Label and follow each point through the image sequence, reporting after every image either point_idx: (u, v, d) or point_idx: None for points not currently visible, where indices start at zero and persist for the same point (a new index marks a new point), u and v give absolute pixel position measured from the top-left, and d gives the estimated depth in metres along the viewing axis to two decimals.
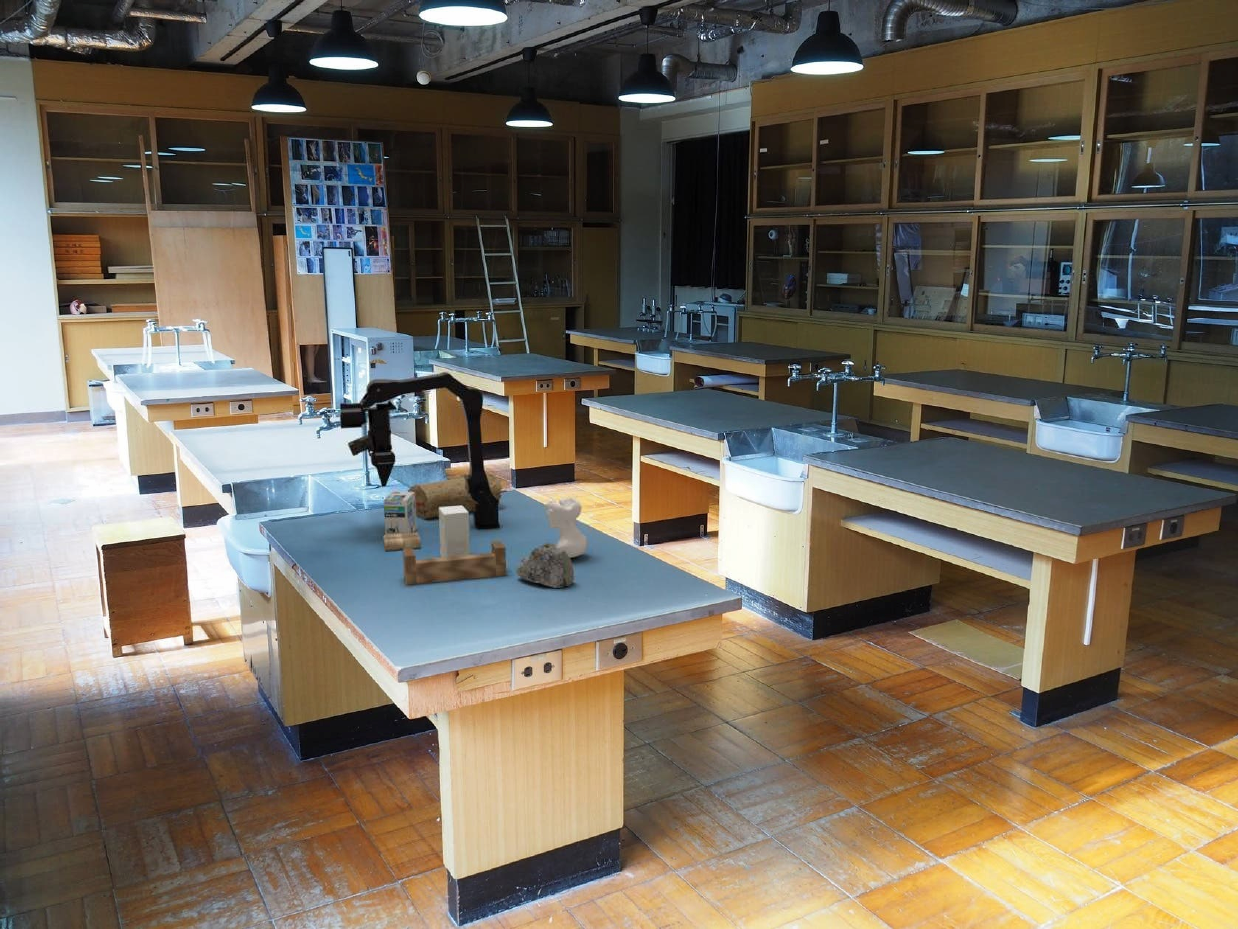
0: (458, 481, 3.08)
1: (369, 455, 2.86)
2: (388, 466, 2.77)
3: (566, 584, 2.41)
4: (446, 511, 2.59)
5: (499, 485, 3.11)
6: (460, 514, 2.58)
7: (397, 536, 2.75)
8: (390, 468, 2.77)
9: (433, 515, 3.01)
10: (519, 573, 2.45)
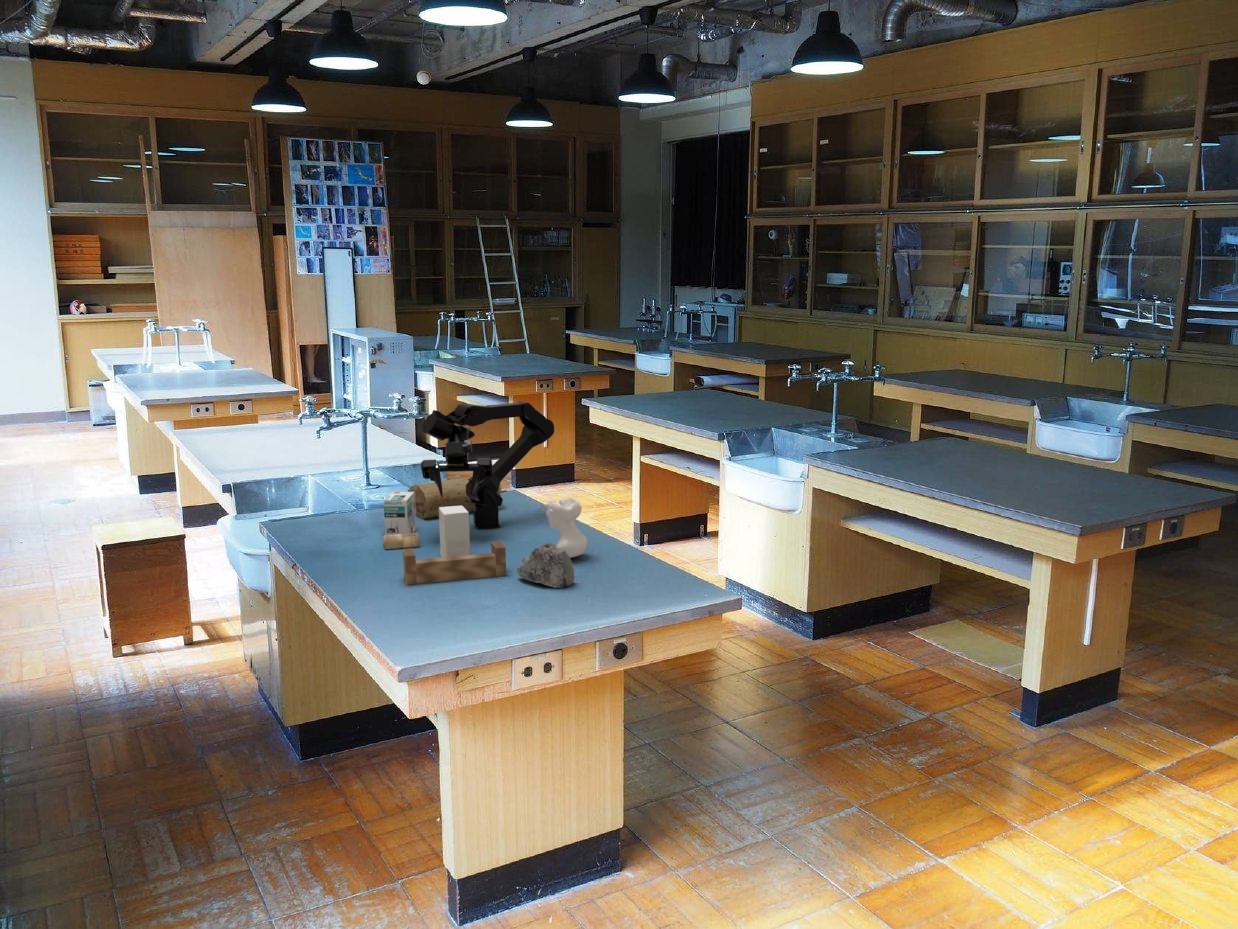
0: (457, 481, 3.08)
1: (439, 468, 2.74)
2: (478, 478, 2.78)
3: (566, 584, 2.41)
4: (446, 511, 2.59)
5: None
6: (460, 514, 2.58)
7: (397, 536, 2.75)
8: (479, 481, 2.78)
9: (431, 515, 3.02)
10: (519, 573, 2.45)
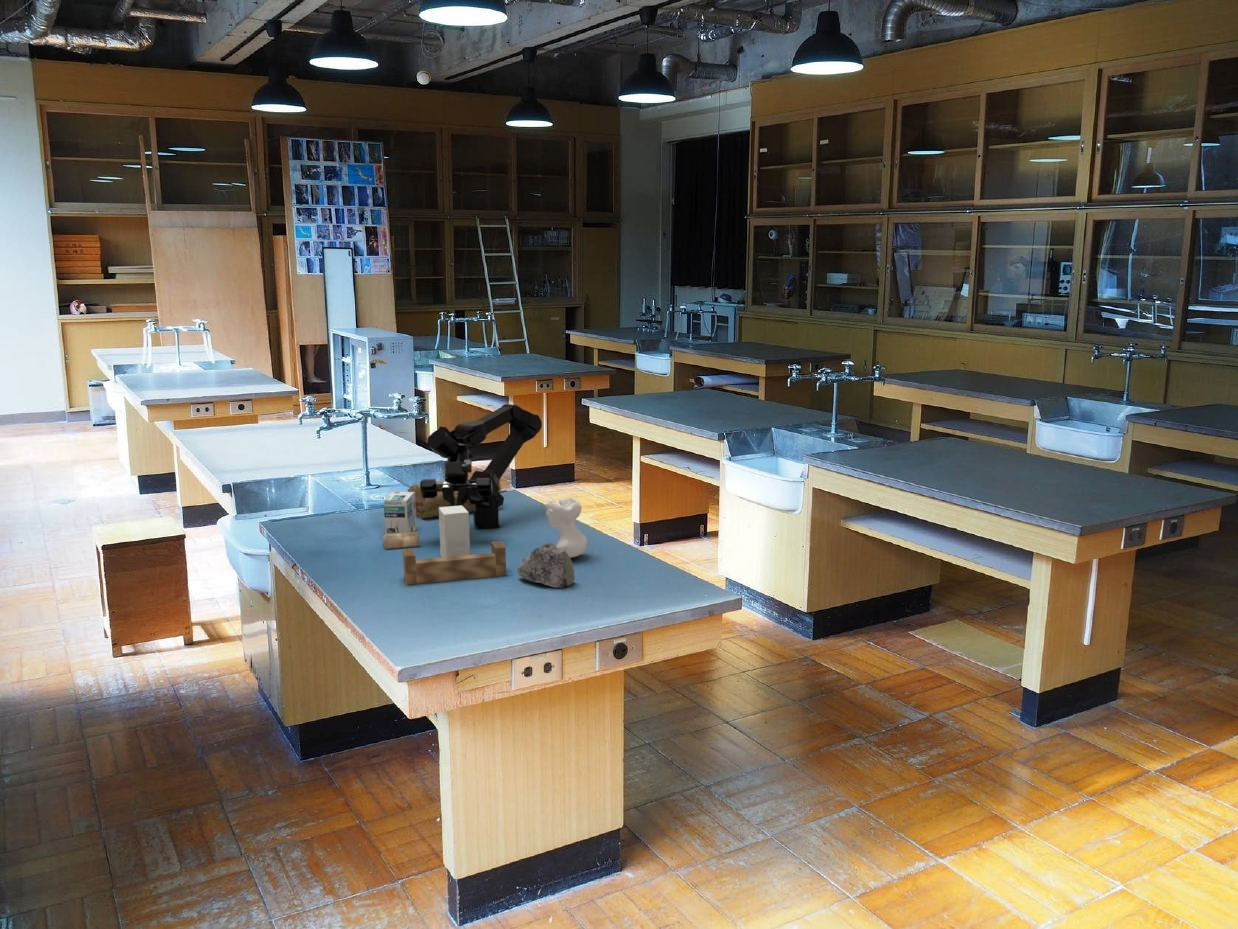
0: None
1: (452, 487, 2.72)
2: (464, 499, 2.75)
3: (566, 584, 2.41)
4: (446, 511, 2.59)
5: None
6: (460, 514, 2.58)
7: (397, 534, 2.76)
8: (464, 502, 2.76)
9: (431, 515, 3.02)
10: (520, 573, 2.45)
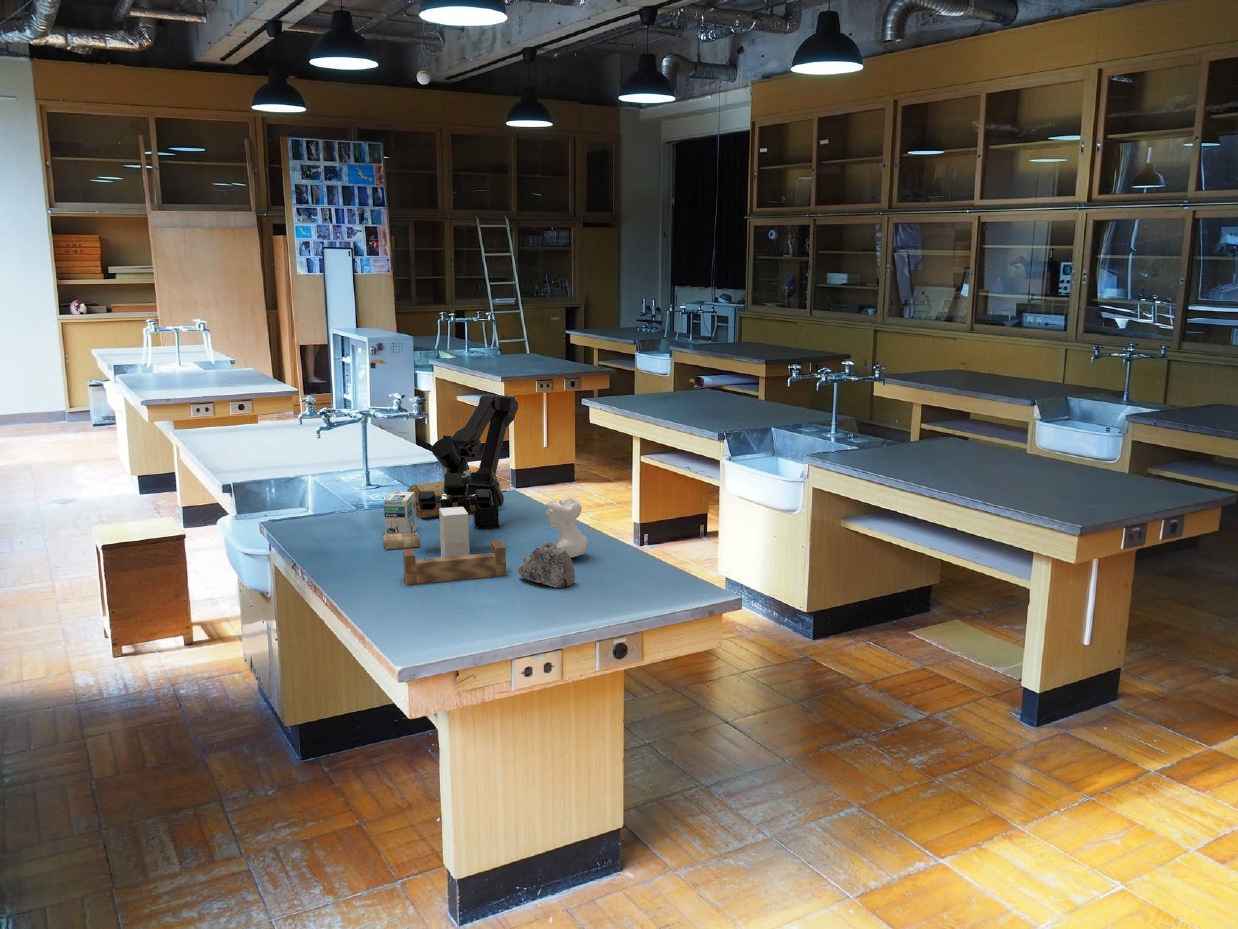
0: None
1: (451, 499, 2.66)
2: None
3: (567, 584, 2.41)
4: (446, 512, 2.58)
5: None
6: (459, 516, 2.56)
7: (397, 536, 2.75)
8: None
9: (429, 515, 3.02)
10: (520, 572, 2.46)
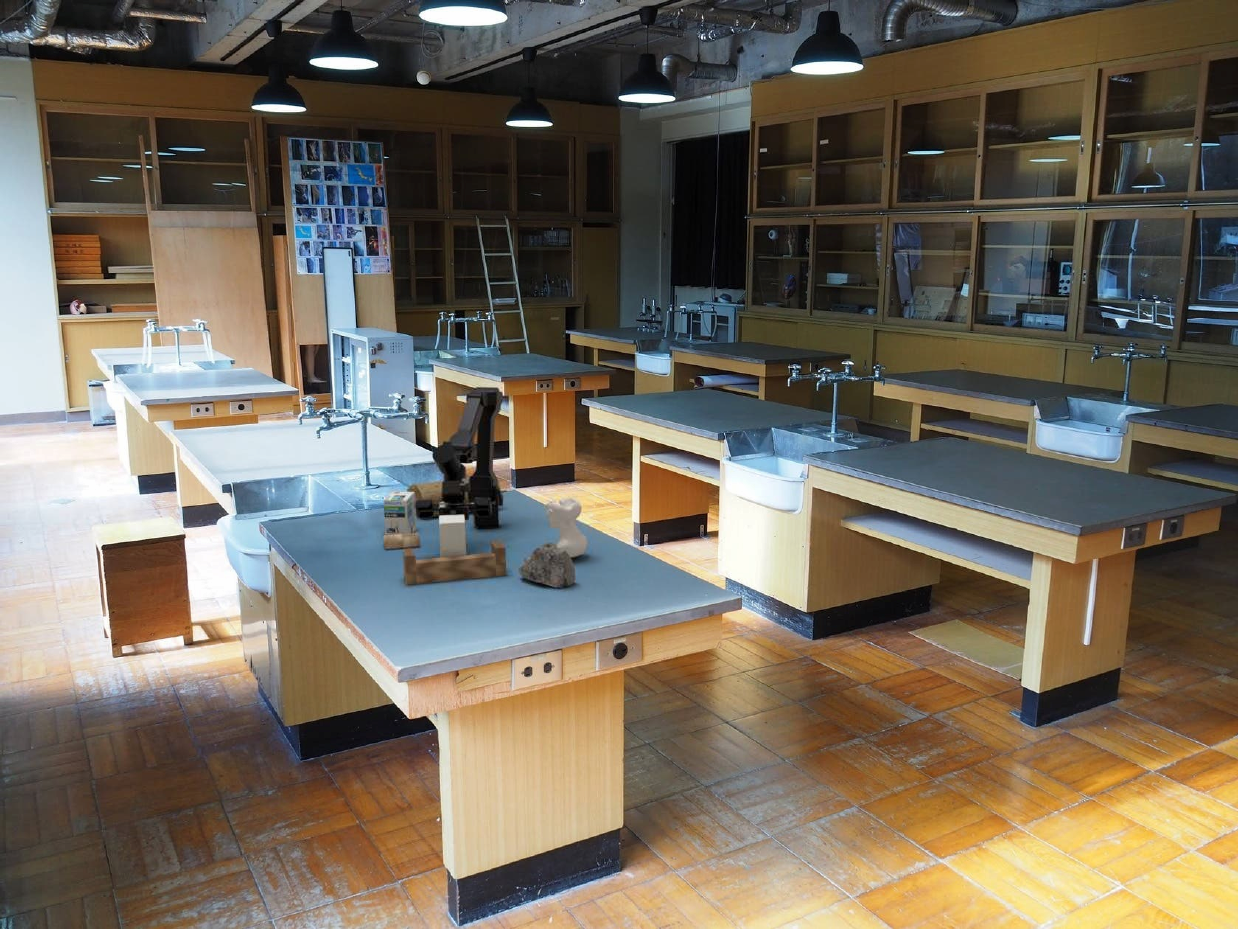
0: None
1: (449, 508, 2.59)
2: None
3: (567, 584, 2.41)
4: (443, 520, 2.51)
5: None
6: (456, 524, 2.49)
7: None
8: None
9: None
10: (521, 572, 2.46)
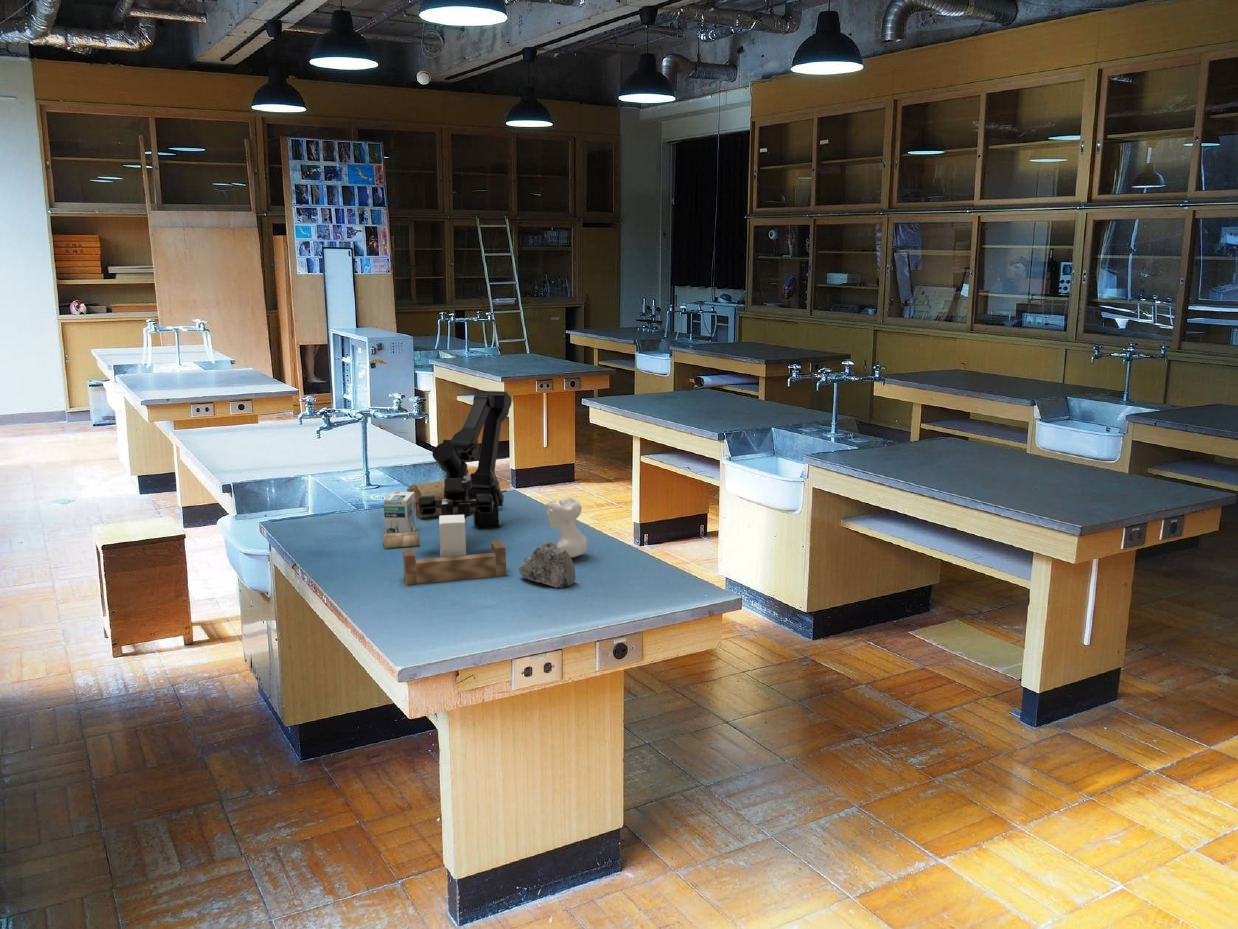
0: None
1: (452, 504, 2.64)
2: None
3: (567, 584, 2.41)
4: (443, 520, 2.51)
5: (498, 486, 3.09)
6: (456, 524, 2.49)
7: (396, 533, 2.77)
8: None
9: (428, 515, 3.02)
10: (521, 572, 2.46)
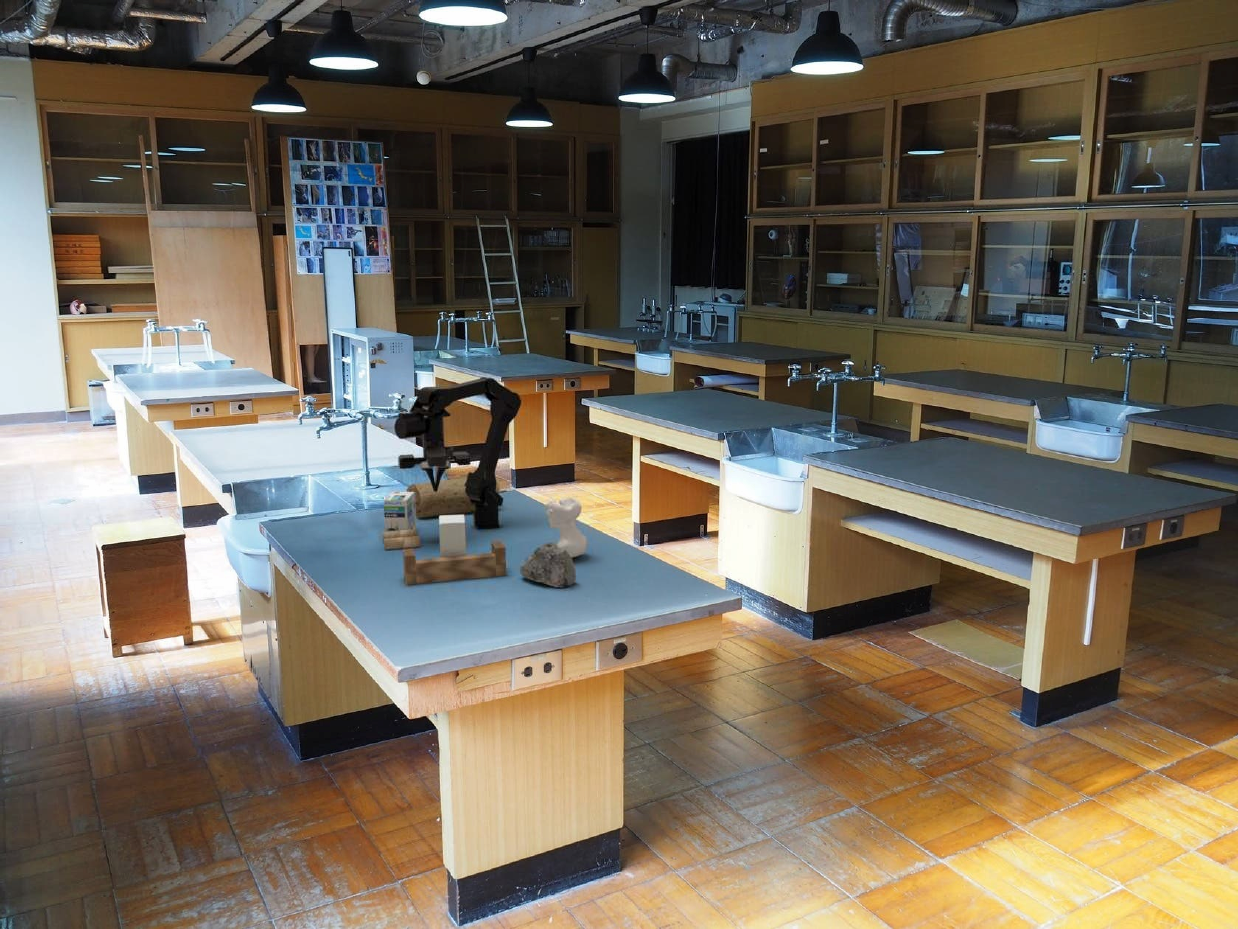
0: (455, 481, 3.07)
1: (432, 469, 2.76)
2: None
3: (567, 584, 2.41)
4: (443, 520, 2.51)
5: (497, 487, 3.09)
6: (456, 524, 2.49)
7: None
8: None
9: (427, 515, 3.02)
10: (522, 572, 2.46)
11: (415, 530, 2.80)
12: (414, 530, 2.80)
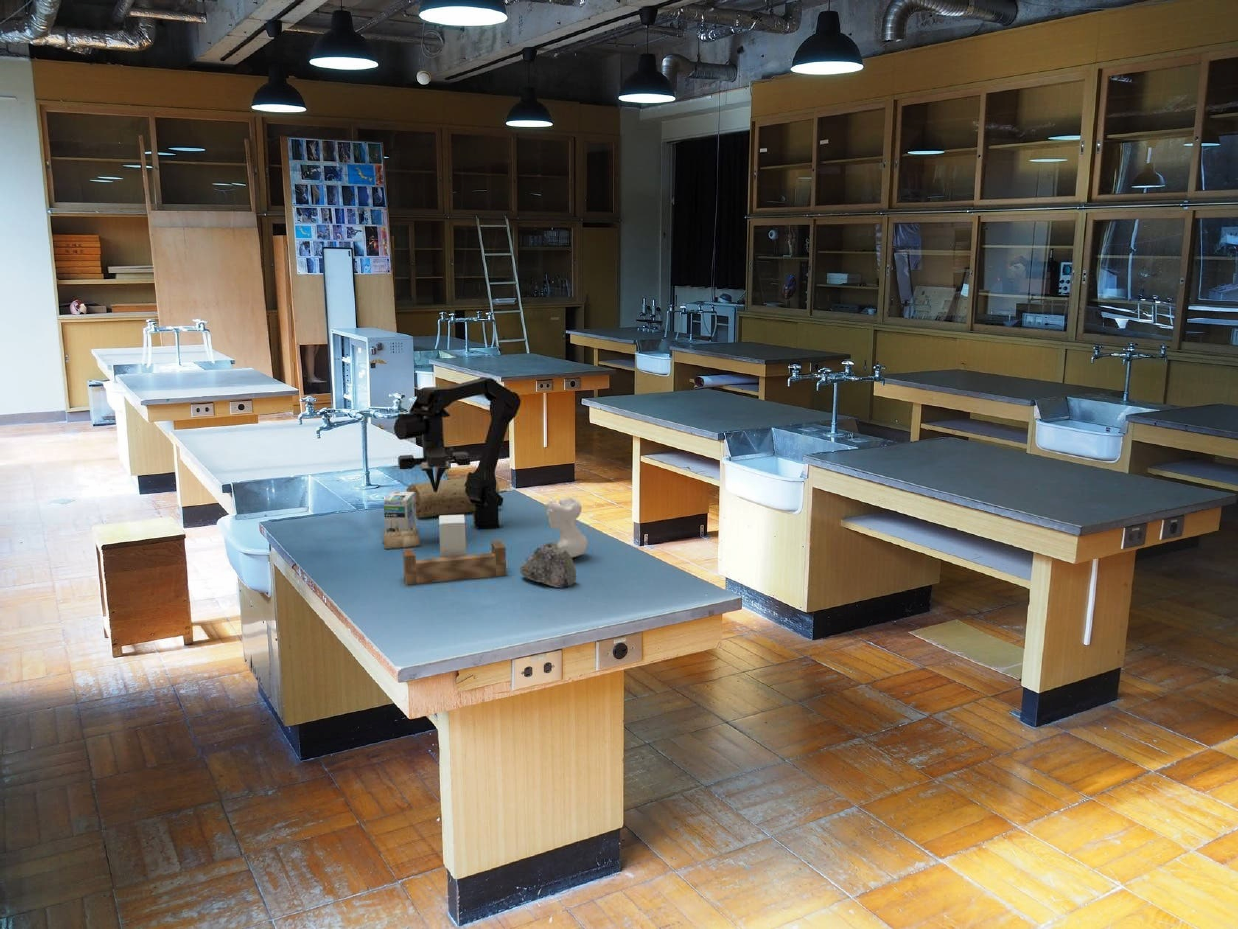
0: (455, 481, 3.07)
1: (432, 469, 2.76)
2: None
3: (567, 584, 2.41)
4: (443, 520, 2.51)
5: (497, 487, 3.09)
6: (456, 524, 2.49)
7: None
8: None
9: (426, 515, 3.02)
10: (522, 572, 2.46)
11: (416, 534, 2.79)
12: (415, 534, 2.79)
